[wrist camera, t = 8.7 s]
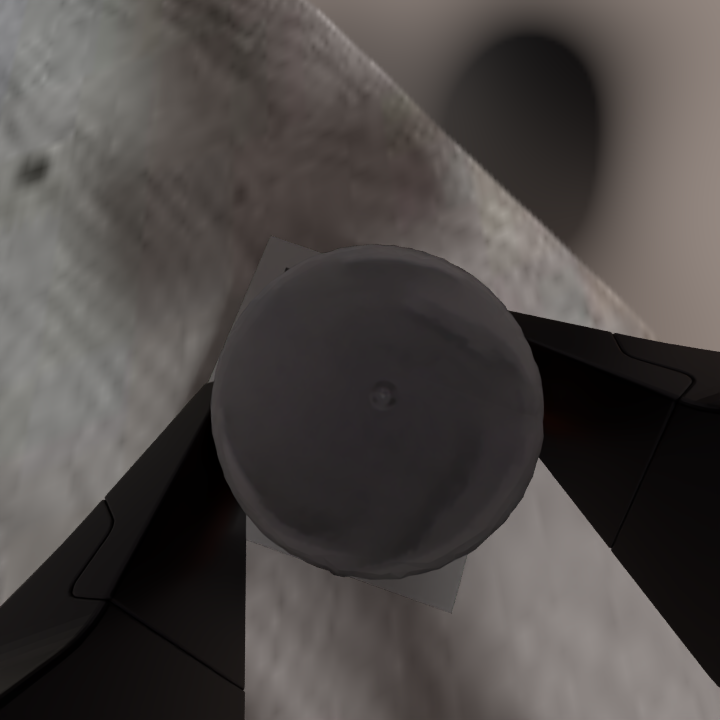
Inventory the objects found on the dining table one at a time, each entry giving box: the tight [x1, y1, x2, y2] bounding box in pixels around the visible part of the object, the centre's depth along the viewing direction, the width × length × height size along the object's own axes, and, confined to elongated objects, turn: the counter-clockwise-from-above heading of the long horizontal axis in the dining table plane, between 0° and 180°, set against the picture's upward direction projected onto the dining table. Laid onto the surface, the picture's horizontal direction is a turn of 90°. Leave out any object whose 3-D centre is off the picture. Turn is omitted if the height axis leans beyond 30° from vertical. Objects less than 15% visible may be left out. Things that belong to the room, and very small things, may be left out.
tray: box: [208, 236, 468, 614], centre depth 16 cm, size 12×12×2 cm
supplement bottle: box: [210, 244, 544, 580], centre depth 10 cm, size 6×6×11 cm
